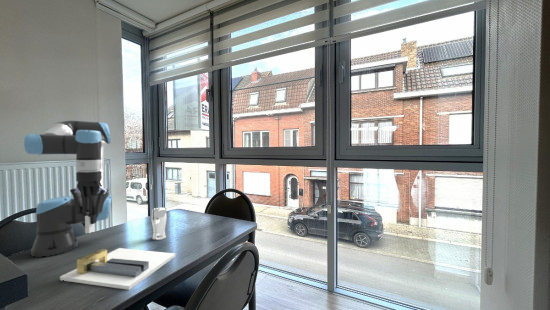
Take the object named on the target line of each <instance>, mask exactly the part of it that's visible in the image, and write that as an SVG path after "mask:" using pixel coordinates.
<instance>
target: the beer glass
mask: <svg viewBox="0 0 550 310" xmlns="http://www.w3.org/2000/svg"><path fill="white" fill-rule="evenodd" d="M167 219H168V217H167V208H166V207H165V206H163V207H154V208H152V209H151V224H152V230H153V234H152V240H154V241H159V240H160V241H161V240H163V239H165V238H166V237H167V236H166V225H167Z"/></svg>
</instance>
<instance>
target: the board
mask: <svg viewBox="0 0 550 310" xmlns="http://www.w3.org/2000/svg"><path fill="white" fill-rule="evenodd" d="M112 258H113V259H125V260H137V261H148V262H149V268H148V269H147V270H145V271H141V274H140V275H138V276H137V277H130V276H122V275H114V274H106V273H98V272H90V271H87V272H86V273H85V274H82V273H77V268H75V269H73V270H71V271H69V272H67V273H64V274H62V275H61V276H59V281H63V280H64V282H70V283H71V282H72V283H79V284H85V285H91V286H92V285H93V286H97V287H105V288H107V287H108V288H114V289H121V290H127V291H128V290H129V291H130V290H131V289H133V288H135V286H137V285H138V284H140V283H141V282H142V281H144V280H145V279H146V278H148V277H149V276H150V275H152V274H154V273H155V272H156V271H157V270H159V269H160V268H161V267H163V266H165V264H167V263H168V262H170V261H171V260H173V259H174V258H176V253H173V252H164V251H152V250H144V249H143V250H142V249H134V248H133V249H132V248H122V247H118V248H116V249H115V250H112V251H110V252H107V261H108V260H110V259H112ZM95 261H96V262H99V259H97V260H95Z"/></svg>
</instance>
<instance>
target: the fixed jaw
mask: <svg viewBox="0 0 550 310" xmlns="http://www.w3.org/2000/svg"><path fill="white" fill-rule="evenodd" d="M87 271H90V272H98V273H106V274H114V275H122V276H130V277H137V276H138V275H140V274H141V267H139V266H130V265H122V264H113V263H104V262H96V261H93V262H91V263H89V264H87Z"/></svg>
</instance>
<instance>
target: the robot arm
mask: <svg viewBox="0 0 550 310" xmlns="http://www.w3.org/2000/svg"><path fill="white" fill-rule="evenodd" d="M23 143H24V145H23V146H24V151H25V153H26V154H28V155H38V156H41V155H75V156H76V158H75V159H76V160H75V163H76V164H75V167H76V169H75V170H76V173H75V174H76V176H75V178H76V179H75V181H76V182H77V184H76V186H75V187H74V188H71V189H70V191H69V192H70V193H71V195H72V196H71V195H65V196H59V197H58V196H57V197H53V198H49V199H45V200H43V201H40V202H39V203H37V205H36V210H35V211H36V212H35V215H36V216H35V217H36V237H35V240H34V242H33V245H32V247H31V250H30V255H32V256H31V257H33V256H35V257H34V258H43V257H42V256H46V257H51V256H50V255H52V256H56V255H55V254H57V255H61V254H63V252H64V253H66V252H70V251H72V250H74V249H75V248H77V247H78V239H77V237H76V234H75V232H74V229H73V225H78V224H84V233H85V234H90V233H93V232H95V229H96V227H95V225H96V223H97V222H99V221H104V220H107V219H108V218H109V217H110V213H111V205H112V199H113V196H112V195H110V194H109V189H108V188H105V187H106V186H105V185H106V184H105V149H106V148H107V147H108V144H111V131H110V127H109V125H108V123H106V122H99V121H83V120H63V121H58V122H54V123H53V124H50V125H49V126H48V127H47V128H46V130H45V131H44V132H43V133H39V134H38V133H31V134H30V133H29V134H26V135H25V137H24V142H23ZM60 253H61V254H60Z"/></svg>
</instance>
